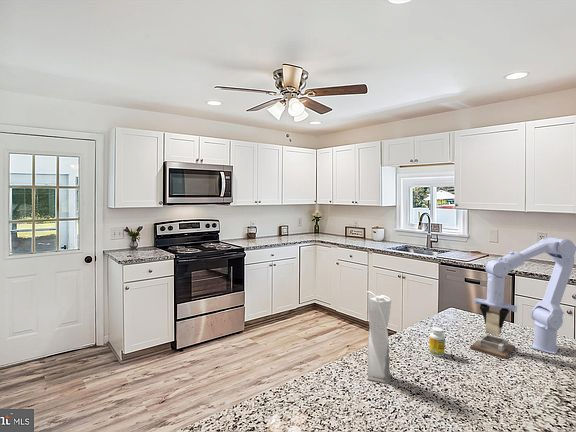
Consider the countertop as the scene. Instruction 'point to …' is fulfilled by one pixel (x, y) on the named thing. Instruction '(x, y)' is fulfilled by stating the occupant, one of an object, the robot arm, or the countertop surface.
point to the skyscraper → (378, 339)
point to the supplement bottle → (437, 342)
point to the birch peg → (493, 323)
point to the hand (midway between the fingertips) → (493, 325)
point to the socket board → (493, 346)
